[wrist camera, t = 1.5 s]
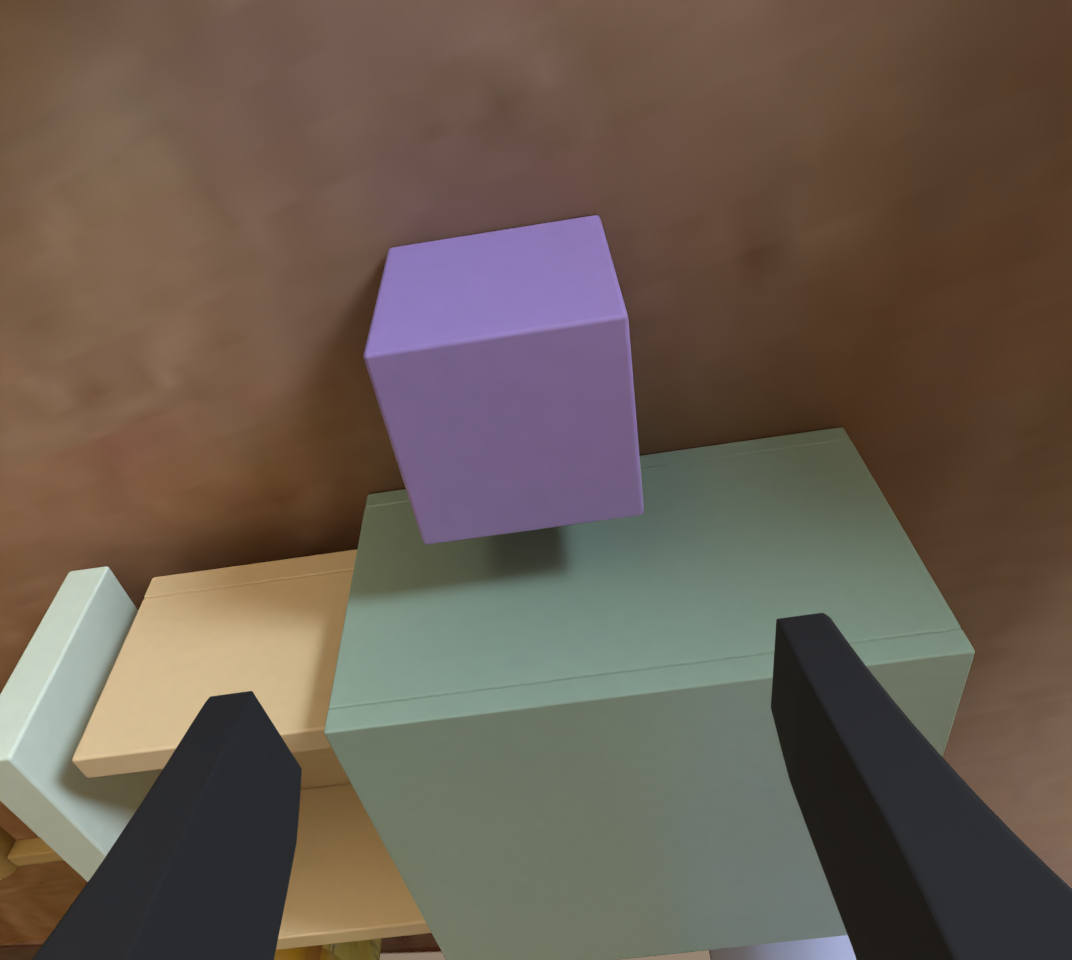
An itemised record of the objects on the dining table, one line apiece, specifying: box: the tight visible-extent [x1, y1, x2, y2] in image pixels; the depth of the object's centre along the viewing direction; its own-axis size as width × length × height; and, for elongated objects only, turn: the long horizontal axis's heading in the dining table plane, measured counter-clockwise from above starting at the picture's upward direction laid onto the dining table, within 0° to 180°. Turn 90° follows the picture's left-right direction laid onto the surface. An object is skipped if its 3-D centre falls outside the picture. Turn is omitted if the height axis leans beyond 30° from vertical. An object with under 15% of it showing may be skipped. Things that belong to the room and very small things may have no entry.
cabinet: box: [324, 427, 975, 960], centre depth 23 cm, size 13×13×8 cm
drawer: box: [0, 549, 431, 950], centre depth 24 cm, size 18×12×6 cm, turn 98°
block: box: [363, 215, 644, 545], centre depth 18 cm, size 5×5×5 cm
